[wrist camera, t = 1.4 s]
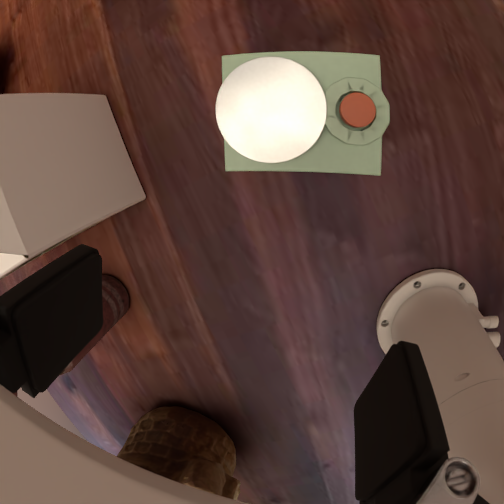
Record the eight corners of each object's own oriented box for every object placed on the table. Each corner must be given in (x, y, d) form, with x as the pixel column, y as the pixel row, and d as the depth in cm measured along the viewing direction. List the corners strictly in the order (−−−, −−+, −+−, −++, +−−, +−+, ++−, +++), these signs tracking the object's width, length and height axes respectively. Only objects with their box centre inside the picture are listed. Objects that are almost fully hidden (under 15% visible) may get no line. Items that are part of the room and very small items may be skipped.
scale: (379, 60, 24) (387, 51, 20) (380, 173, 28) (388, 178, 24) (227, 59, 26) (216, 51, 23) (230, 168, 30) (219, 173, 27)
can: (87, 275, 39) (17, 329, 26) (121, 271, 37) (48, 331, 25) (103, 314, 41) (42, 374, 28) (137, 313, 39) (76, 381, 27)
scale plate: (325, 56, 22) (325, 55, 21) (327, 164, 25) (327, 164, 25) (215, 61, 23) (214, 60, 23) (218, 163, 27) (217, 163, 27)
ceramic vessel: (78, 368, 35) (123, 559, 16) (236, 367, 48) (314, 504, 30) (78, 439, 44) (113, 564, 25) (195, 432, 57) (245, 536, 39)
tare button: (372, 96, 22) (375, 93, 21) (372, 128, 23) (376, 128, 22) (338, 93, 23) (339, 91, 21) (339, 126, 24) (340, 126, 22)
